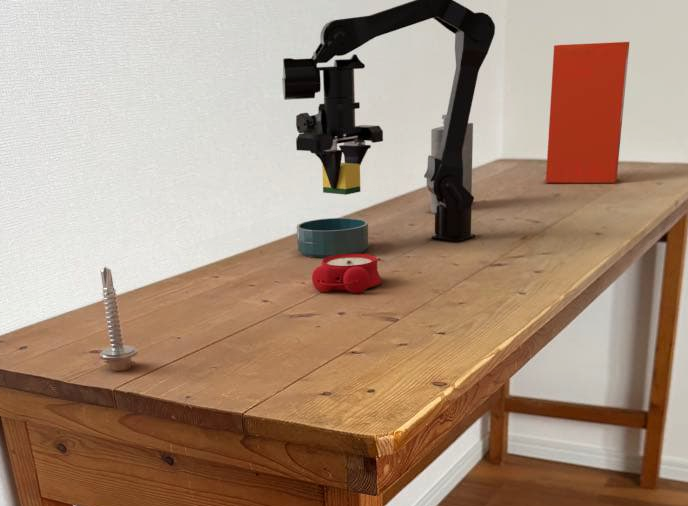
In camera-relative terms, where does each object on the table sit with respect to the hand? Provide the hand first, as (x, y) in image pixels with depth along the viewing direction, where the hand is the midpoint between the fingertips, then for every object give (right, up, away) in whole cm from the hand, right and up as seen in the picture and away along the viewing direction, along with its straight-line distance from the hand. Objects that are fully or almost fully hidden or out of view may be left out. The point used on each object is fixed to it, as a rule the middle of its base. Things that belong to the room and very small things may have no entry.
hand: (341, 186), depth 181 cm
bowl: (-2, -12, +2) cm, 12 cm away
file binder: (+64, +26, +66) cm, 95 cm away
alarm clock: (0, -26, -25) cm, 36 cm away
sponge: (0, -1, +1) cm, 1 cm away
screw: (-30, -46, -58) cm, 80 cm away
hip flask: (+26, +10, +40) cm, 48 cm away
